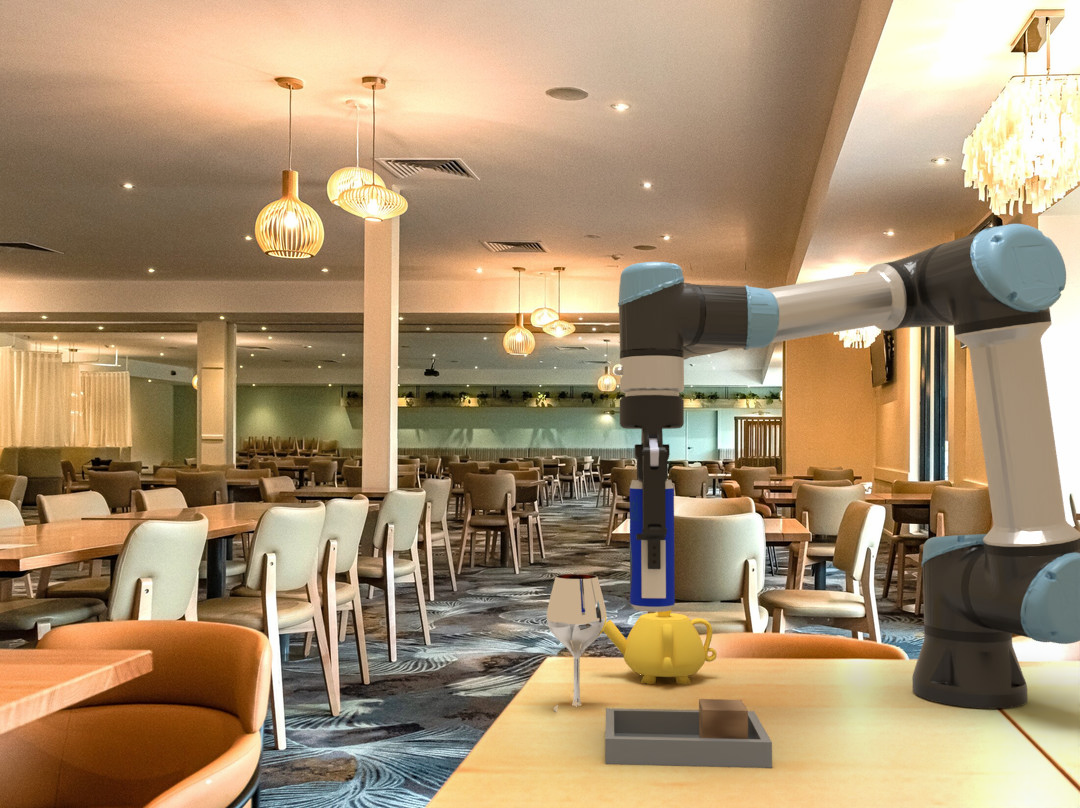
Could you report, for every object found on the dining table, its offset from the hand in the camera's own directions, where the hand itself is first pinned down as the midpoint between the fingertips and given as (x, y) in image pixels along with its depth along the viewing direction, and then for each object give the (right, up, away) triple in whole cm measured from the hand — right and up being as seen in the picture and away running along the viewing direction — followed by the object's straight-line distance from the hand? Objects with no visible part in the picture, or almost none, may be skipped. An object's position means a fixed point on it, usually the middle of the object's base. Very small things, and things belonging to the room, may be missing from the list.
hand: (652, 593), depth 114 cm
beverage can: (0, -2, 0) cm, 2 cm away
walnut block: (+8, -18, -2) cm, 19 cm away
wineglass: (-8, -20, +19) cm, 28 cm away
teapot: (+5, -21, +39) cm, 44 cm away
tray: (+4, -18, -1) cm, 19 cm away
